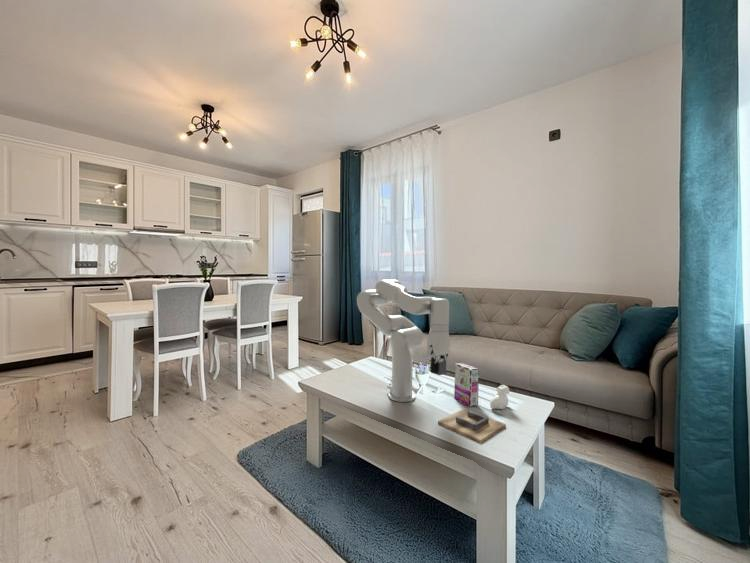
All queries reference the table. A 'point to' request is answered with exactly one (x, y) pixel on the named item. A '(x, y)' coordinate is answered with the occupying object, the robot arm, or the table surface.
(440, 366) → the connector plug
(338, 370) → the table surface
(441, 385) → the table surface
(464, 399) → the candy bar box
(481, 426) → the end holder
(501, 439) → the table surface
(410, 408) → the table surface
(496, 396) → the bust
